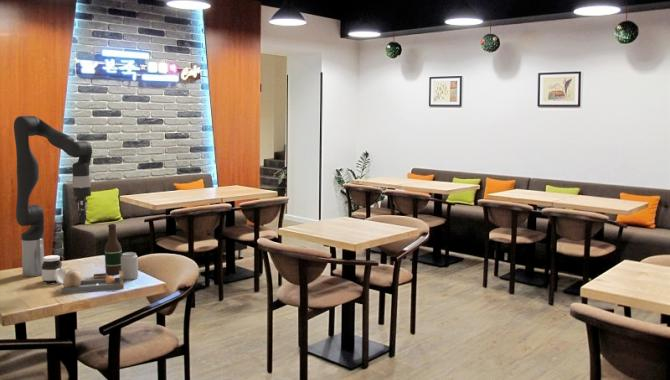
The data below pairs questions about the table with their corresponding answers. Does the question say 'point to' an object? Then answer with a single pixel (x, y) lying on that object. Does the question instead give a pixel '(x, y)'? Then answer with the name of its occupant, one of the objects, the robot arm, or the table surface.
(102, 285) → the lane
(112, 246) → the beer bottle
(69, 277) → the log
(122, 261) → the can
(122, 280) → the backstop
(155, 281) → the table surface
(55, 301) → the table surface
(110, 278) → the ball
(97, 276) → the tee
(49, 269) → the spread jar
